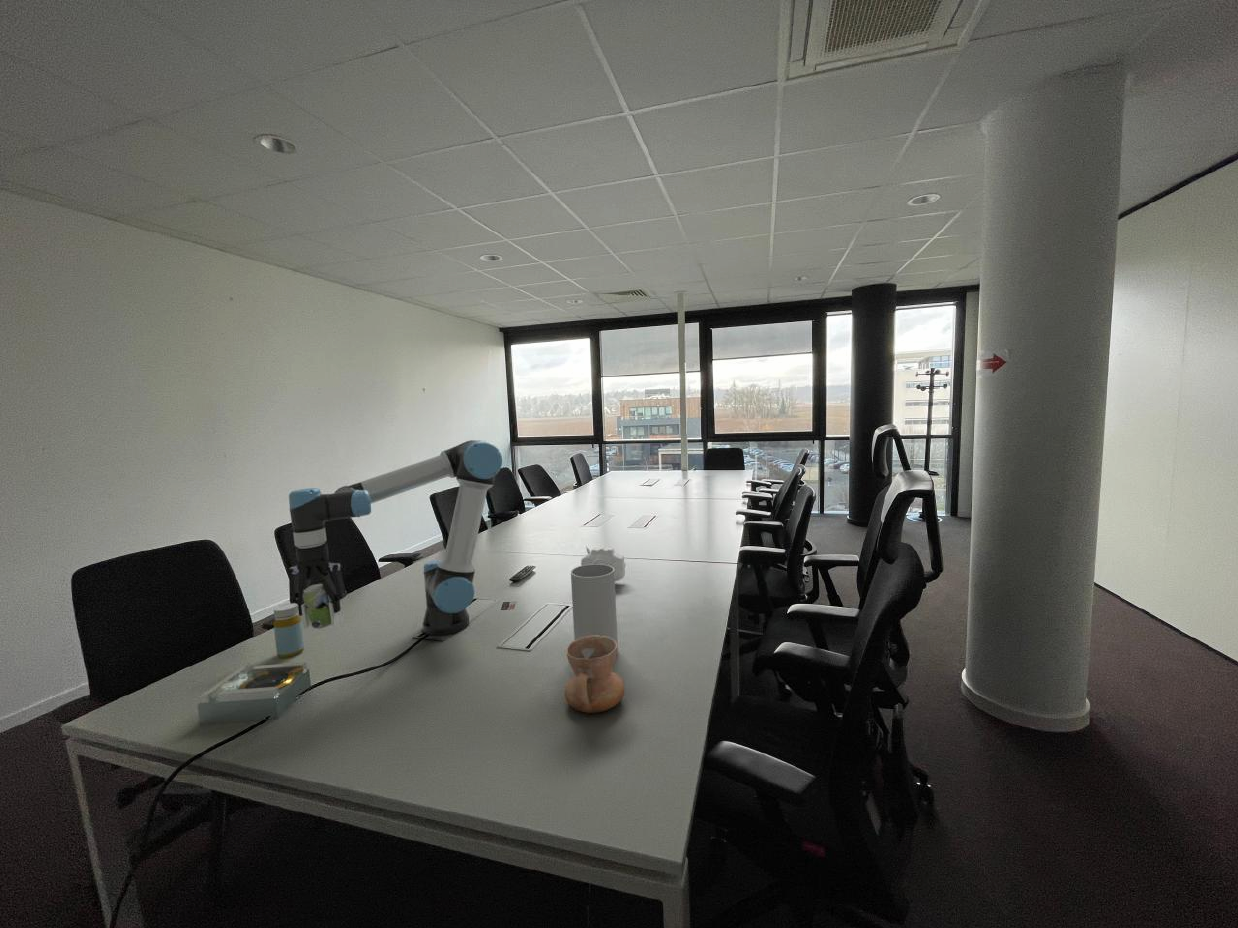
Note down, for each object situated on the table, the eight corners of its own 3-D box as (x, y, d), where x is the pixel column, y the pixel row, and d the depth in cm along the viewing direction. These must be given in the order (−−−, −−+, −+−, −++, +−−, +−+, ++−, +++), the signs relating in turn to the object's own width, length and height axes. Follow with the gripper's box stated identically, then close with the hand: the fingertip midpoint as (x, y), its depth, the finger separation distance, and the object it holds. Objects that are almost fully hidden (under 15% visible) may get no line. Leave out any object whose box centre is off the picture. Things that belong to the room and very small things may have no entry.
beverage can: (341, 621, 141) (336, 581, 139) (318, 633, 134) (313, 590, 133) (325, 620, 143) (320, 580, 142) (301, 631, 136) (296, 589, 135)
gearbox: (311, 686, 132) (308, 661, 132) (278, 718, 118) (275, 690, 118) (241, 691, 131) (238, 666, 131) (200, 724, 117) (196, 696, 117)
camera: (586, 580, 211) (584, 543, 209) (627, 580, 207) (625, 543, 206) (579, 589, 200) (577, 550, 198) (623, 589, 197) (621, 550, 195)
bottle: (290, 659, 149) (285, 611, 148) (271, 658, 151) (266, 610, 149) (309, 648, 156) (304, 602, 155) (291, 647, 157) (286, 602, 156)
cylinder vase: (625, 647, 147) (621, 566, 144) (606, 667, 135) (602, 579, 133) (588, 641, 152) (584, 562, 150) (567, 660, 141) (562, 575, 138)
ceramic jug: (580, 679, 130) (576, 628, 128) (633, 685, 125) (630, 632, 124) (551, 722, 113) (546, 663, 111) (611, 730, 108) (607, 669, 107)
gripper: (354, 538, 140) (363, 616, 143) (282, 544, 139) (293, 622, 141) (341, 545, 133) (351, 627, 135) (265, 551, 132) (277, 633, 134)
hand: (321, 624), depth 138 cm, fingers closed on beverage can, 7 cm apart
